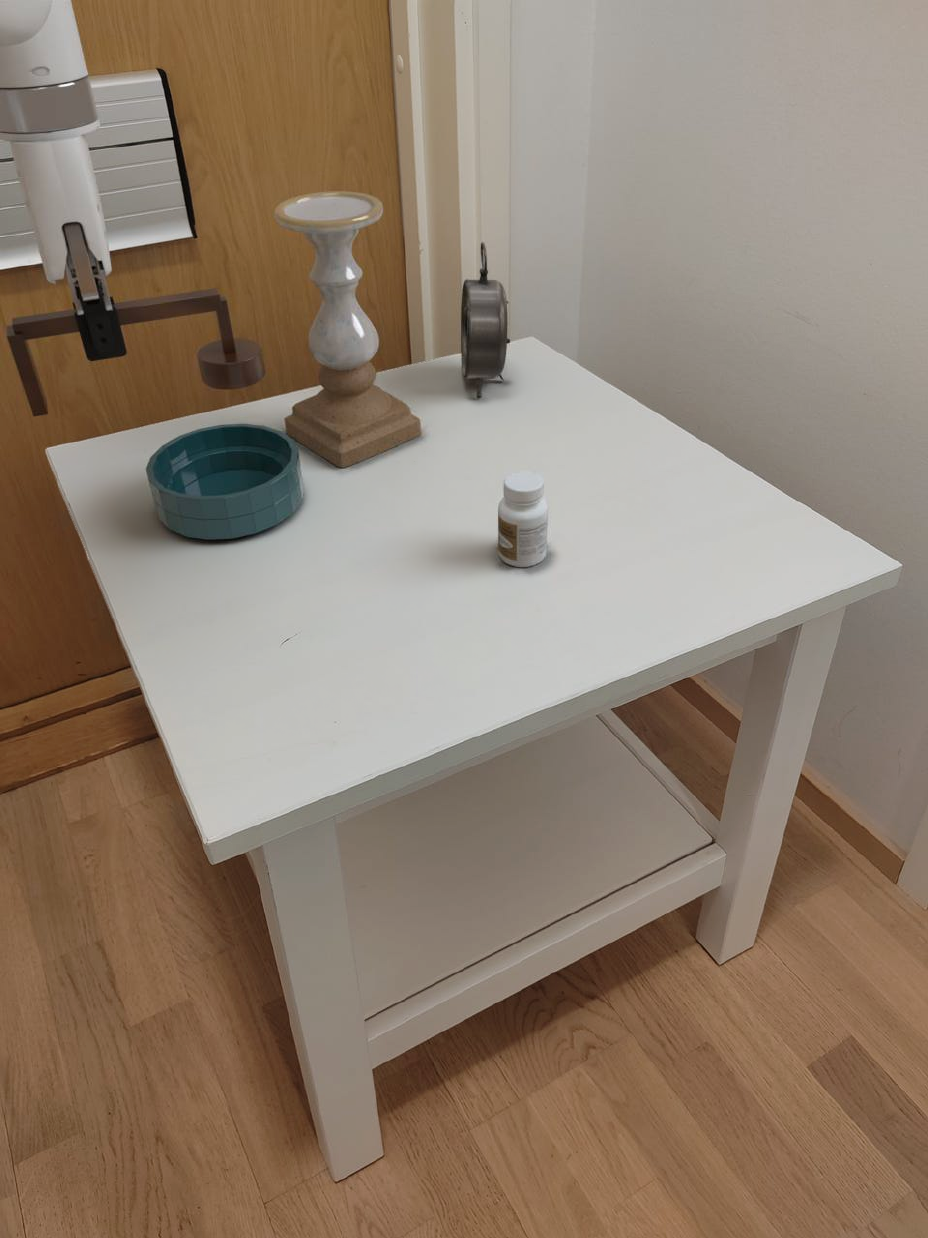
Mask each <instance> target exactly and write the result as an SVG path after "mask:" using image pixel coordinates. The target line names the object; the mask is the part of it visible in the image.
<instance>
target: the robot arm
mask: <svg viewBox="0 0 928 1238" xmlns="http://www.w3.org/2000/svg"><path fill="white" fill-rule="evenodd" d="M86 63H87V62H86V59H85V55H84V51H83V46H82V41H81V38H80V33H79V29H78V24H77V21H76V16H75V11H74V8H73V3H72V0H0V141H4V142H9V144H10V148H11V153H12V158H13V162H14V167H15V170H16V173H17V179H18V182H19V187H20V189H21V193H22V197H23V200H24V204H25V208H26V210H27V214H28V217H29V222H30V224H31V227H32V232H33V235H34V238H35V241H36V246H37V248H38V252H39V256H40V259H41V263H42V266H43V271H44V274H45V277H46V280H47V282H49V283H50V284H53V285H57V284H58V280H59V281H60V280H64V278H65V275H66V280H67V284H69V285H68V286H69V288H70V293H71V296H72V306H73V309H76V311H77V312H74V314H75V318H76V321H77V325H78V328H79V332H78V333H79V336H80V339H81V343H82V346H83V349H84V352H85V353H84V354H85V357H86V359H87V360H88V361H89V362H97V361H103V360H108V359H115V358H121V357H125V356H127V353H128V352H127V351H128V349H127V347H126V343H125V339H124V335H123V331H122V326H120V323H119V319H118V315H117V311H116V307H115V306H114V307H112V303H115V301H114V297H113V295H112V296H110V293H109V289H108V285H107V281H106V278H107V277H108V276H109V275H110V274H111V273H112V272H113V268H112V261H111V254H110V252H111V251H110V247H109V239H108V233H107V227H106V221H105V216H104V211H103V205H102V200H101V197H100V192H99V191H100V190H99V188H98V182H97V178H96V174H95V169H94V165H93V162H92V158H91V152H90V149H89V145H88V140H87V137H86V136H87V135H86V134H89V133H93V132H94V131H97V129H100V127H101V122H100V118H99V115H98V114H99V113H98V110H97V106H96V101H95V98H94V92H93V89H92V84H91V79H90V77H89V73H88V68H87V64H86ZM105 307H106V308H105ZM83 309H84V310H83Z"/></svg>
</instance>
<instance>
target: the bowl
mask: <svg viewBox="0 0 928 1238" xmlns="http://www.w3.org/2000/svg"><path fill="white" fill-rule="evenodd" d="M145 472H146V477H147V481H148V485H149V488H150V493H151V495H152V500H153V503H154V506H155V510H156V513H157V517H158V520H159V521H160V522H161V523H162V524H163V525H164V526H165V527H166V528H168V530H170V531H172V532H174V533H177V534H178V535H182V536H184V537H188V538H194V539H201V540H208V541H209V540H228V539H236V538H240V537H245V536H251V535H254V534H257V533H260V532H262V531H265V530H267V529H270V528H272V527H274V526H277V525H279V524H280V523H281V522H282V521H284V520H285V519H287V518H289V517H290V516H291V515H292V514H293V513H294V512H295V511H296V509H297V508H298V507H299V506H300V504H301V503H302V501H303V496H304V490H305V488H304V482H303V481H304V479H303V473H302V468H301V460H300V454H299V450H298V446H297V445H296V442H295V440H294V439H293V438H292V437H291V436H289V435H288V434H287V433H286V434H285V433H284V431H281V430H278V429H275V428H272V427H269V426H266V425H260V424H252V423H227V424H226V423H225V424H217V425H213V426H207V427H202V428H197V429H195V430H192V431H189V432H186V433H184V434H181V435H178V436H177V437H175V438H173V439H171V440H169V441H167V442H166V443H164V444H162V445H161V446H160V447H159V448H158V449H157V450H156V451H155V452H154V453H153V454H151V455H150V457H149V460H148V461H147V465H146V467H145Z"/></svg>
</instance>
